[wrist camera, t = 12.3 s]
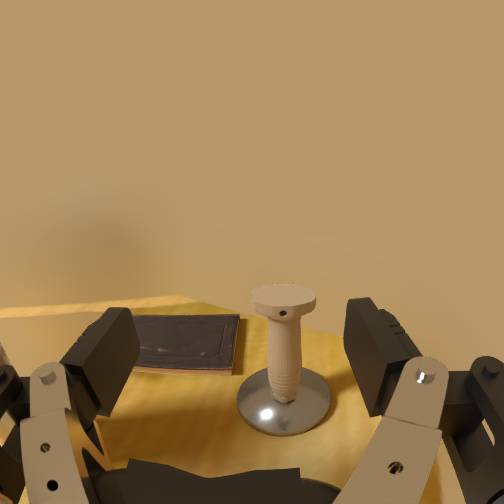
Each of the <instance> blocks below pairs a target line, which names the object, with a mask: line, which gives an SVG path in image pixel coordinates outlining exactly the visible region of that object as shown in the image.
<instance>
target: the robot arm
mask: <svg viewBox="0 0 504 504" xmlns="http://www.w3.org/2000/svg"><path fill="white" fill-rule="evenodd" d="M343 340H344V349H345V352H346V355H347V357H348V360H349V362H350V365H351V368H352V370H353V373H354V375H355V378H356V381H357V383H358V386H359V389H360V391H361V394H362V397H363V399H364V402H365V405H366V408H367V410H368V413H369V416H370V417H375V416H379V415H382V419H381V421H380V423H379V425H378V427H377V429H376V431H375V433H374V435H373V437H372V439H371V441H370V443H369V445H368V447H367V449H366V450H365V452H364V454H363V456H362V458H361V459H360V461H359V463H358V465H357V466H356V468H355V470H354V471H353V473H352V475H351V476H350V478H349V479H348V481H347V483H346V484H345V486H344V487H343V489H340V488H338V487H336V486H333V485H331V484H328V483H325V482H321V481H318V480H313V479H307V478H300V468H290V469H276V470H254V471H249V472H244V473H239V474H234V475H228V476H222V477H216V478H205V477H201V476H198V475H195V474H192V473H189V472H186V471H183V470H180V469H177V468H174V467H171V466H169V465H165V464H158V463H152V462H146V461H141V460H136V459H131V458H130V459H129V462H128V465H127V468H121V469H115V468H114V467H113V465H112V463H111V461H110V459H109V456H108V453H107V451H106V448H105V445H104V442H103V440H102V437H101V434H100V431H99V428H98V425H97V423H96V421H95V420H94V419H95V417H96V415H102V416H106V417H110V414H111V412H112V410H113V408H114V406H115V404H116V402H117V400H118V398H119V396H120V394H121V392H122V390H123V387H124V385H125V383H126V381H127V379H128V377H129V375H130V373H131V371H132V369H133V367H134V365H135V364H136V362H137V360H138V358H139V355H140V341H139V337H138V334H137V331H136V328H135V324H134V321H133V318H132V314H131V312H130V310H129V309H128V308H124V307H109V308H108V309H107V310H106V311H105V313H104V314H103V315H102V316H101V317H100V319H98V320H97V321H95V322H94V323H92V324H91V325H89V326H88V327H87V329H86V330H85V331H84V332H83V333H82V336H80V337H79V338H78V340H77V342H75V343H74V344H73V346H72V347H71V348H70V349H69V351H68V352H67V353H66V354H65V356H64V357H63V358H62V360H61V361H60V362H59V363H56V362H51V363H46V364H43V365H41V366H40V367H38V368H37V369H36V370H35V371H34V372H33V373H32V375H31V377H19V376H18V374H17V373H16V371H15V369H14V367H13V366H12V364H11V362H10V361H9V359H8V357H7V355H6V353H5V351H4V349H3V347H2V345H1V343H0V443H1V444H2V445H3V446H2V447H1V446H0V504H18V503H19V500H20V497H21V495H22V492H23V490H24V487H25V485H26V488H27V494H28V499H29V504H418V503H419V501H420V498H421V496H422V494H423V491H424V489H425V486H426V483H427V481H428V478H429V475H430V472H431V469H432V467H433V463H434V460H435V457H436V454H437V451H438V447H439V444H440V440H441V437H442V439H443V441H444V444H445V446H446V448H447V451H448V453H449V456H450V458H451V461H452V464H453V466H454V469H455V472H456V475H457V478H458V480H459V483H460V486H461V489H462V492H463V495H464V498H465V502H466V504H504V363H502V362H501V361H500V360H498V359H496V358H494V357H490V356H482V357H479V358H477V359H476V360H475V361H474V362H473V364H472V366H471V368H470V370H469V371H448V370H447V368H446V367H445V365H444V364H443V363H441V362H440V361H438V360H436V359H434V358H431V357H424V356H422V354H421V353H420V351H419V350H418V349H417V347H416V346H415V344H414V343H413V341H412V340H411V339H410V337H409V336H408V334H407V333H405V330H404V329H403V327H402V326H400V323H399V322H398V321H397V319H396V318H395V317H394V315H392V314H390V313H389V312H387V311H386V310H384V309H380V310H378V308H377V307H376V306H375V304H374V303H373V301H372V300H371V299H370V298H369V297H366V298H356V299H349V300H348V303H347V310H346V319H345V328H344V337H343ZM484 418H485V420H486V422H487V424H488V426H489V428H490V430H491V431H492V433H493V435H494V439H495V444H494V446H493V444H492V442H491V440H490V438H489V436H488V434H487V432H486V430H485V428H484V426H483V425H482V423H481V422H482V421H483V420H484Z"/></svg>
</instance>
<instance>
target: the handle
mask: <svg viewBox="0 0 504 504" xmlns="http://www.w3.org/2000/svg"><path fill="white" fill-rule="evenodd" d="M251 300H252V307H253V310H254V311H255V312H256V313H259V314H261V315H264V316H267V318H268V358H267V368H268V378H269V383H270V387H271V390H272V392H271V394H272V398H273V399H274V400H278V401H280V402H281V403H287V402H288V401H291V400H295V399H296V397H297V389H298V387H299V383H300V378H301V371H302V354H301V329H300V319H301V316H302V315H305V314H307V313H310V312H312V311H313V310H314V308H315V305H316V291H315V290H314V288H312V287H311V286H306V285H301V284H295V283H277V284H269V285H265V286H260V287H258V288H256V289H254V291H253V292H252V294H251Z"/></svg>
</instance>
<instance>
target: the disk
mask: <svg viewBox="0 0 504 504" xmlns="http://www.w3.org/2000/svg"><path fill="white" fill-rule="evenodd" d="M271 392H272V390H271V387H270V383H269V378H268V368H265V369H263V370H260V371H258V372H256V373H254V374H253V375H251V376H250V377H249V378H247V379H246V380H245V381H244V382H243V384H242V385H241V387H240V389H239V392H238V396H237V403H238V408H239V412H240V415H241V417H242V418H243V420H244V421H245V422H246V423H247V424H248V425H249V426H250V427H252V428H253V429H255V430H257V431H259V432H261V433H264V434H267V435H272V436H293V435H298V434H301V433H304V432H307V431H309V430H311V429H312V428H314V427H315V426H317V425H318V424H319V423H320V422H321V421H322V420H323V419H324V418H325V416H326V414H327V413H328V410H329V406H330V400H331V392H330V389H329V386H328V384H327V383H326V381H325V380H324V379H323V378H322V377H321V376H320V375H318V374H317V373H315V372H313V371H311V370H309V369H306V368H303V367H302V371H301V378H300V383H299V387H298V389H297V397H296V399H295V400H291V401H288V402H287V403H281V402H280V401H278V400H274V399H273V398H272V394H271Z"/></svg>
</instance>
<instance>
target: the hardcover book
mask: <svg viewBox="0 0 504 504" xmlns="http://www.w3.org/2000/svg"><path fill="white" fill-rule="evenodd" d="M132 318H133V321H134V324H135V328H136V331H137V334H138V337H139V341H140V355H139V358H138V360H137V362H136V364H135V365H134V367H133V369H132V371H139V372H150V373H163V374H180V375H210V376H231V375H232V368H233V360H234V353H235V345H236V338H237V330H238V322H239V321H240V317H239V314H218V315H132Z"/></svg>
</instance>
